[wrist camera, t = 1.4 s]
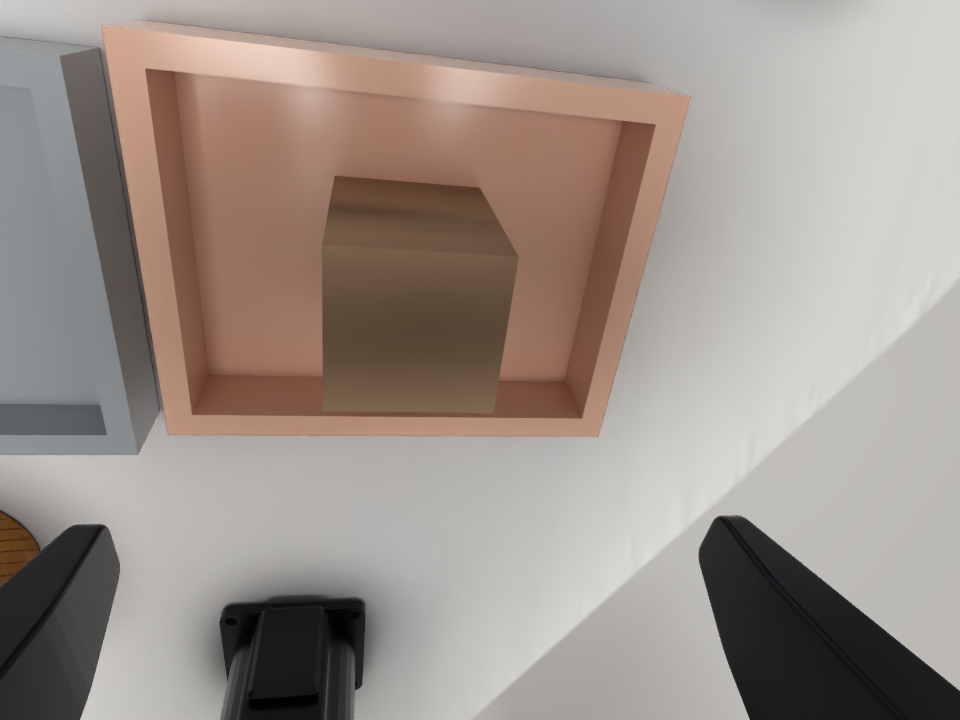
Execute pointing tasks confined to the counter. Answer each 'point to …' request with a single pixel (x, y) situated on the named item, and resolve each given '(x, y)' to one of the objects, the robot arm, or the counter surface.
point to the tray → (66, 264)
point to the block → (413, 298)
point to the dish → (387, 156)
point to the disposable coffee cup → (14, 547)
